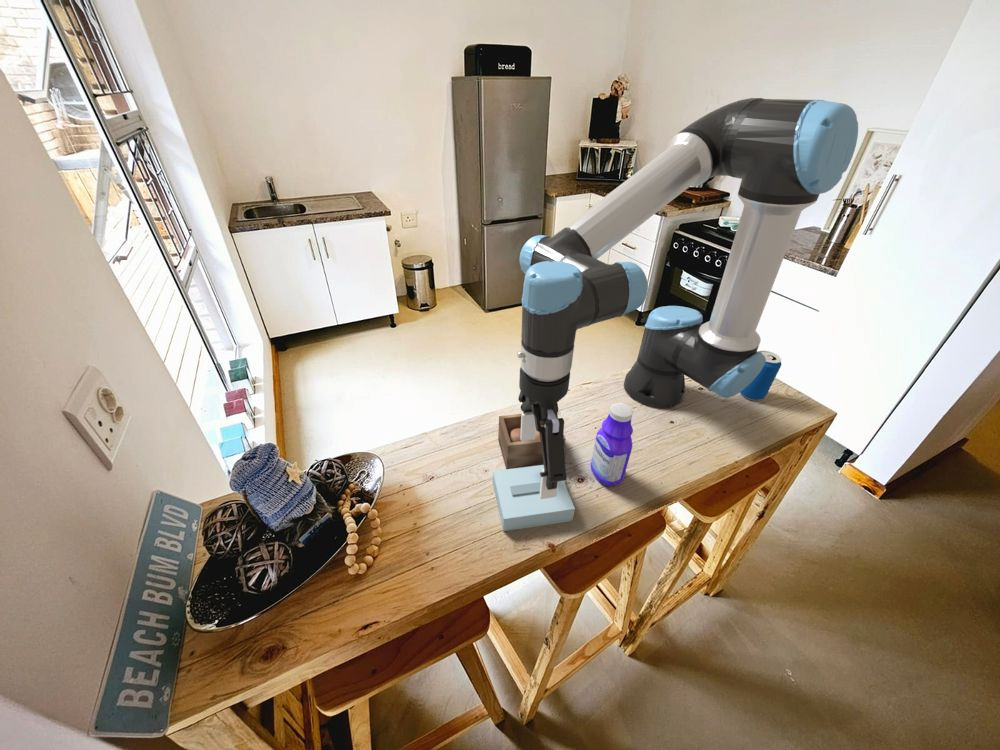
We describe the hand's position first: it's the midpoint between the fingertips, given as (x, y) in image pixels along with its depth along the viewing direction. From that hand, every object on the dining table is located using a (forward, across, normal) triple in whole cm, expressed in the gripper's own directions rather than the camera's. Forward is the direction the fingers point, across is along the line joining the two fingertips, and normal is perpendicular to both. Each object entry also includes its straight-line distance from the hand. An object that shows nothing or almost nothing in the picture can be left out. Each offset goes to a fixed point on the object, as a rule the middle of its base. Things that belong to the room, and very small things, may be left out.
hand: (537, 465), depth 74 cm
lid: (+10, 0, -1) cm, 10 cm away
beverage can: (+12, -23, +65) cm, 70 cm away
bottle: (+10, -4, +16) cm, 20 cm away
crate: (+10, -13, +2) cm, 16 cm away
